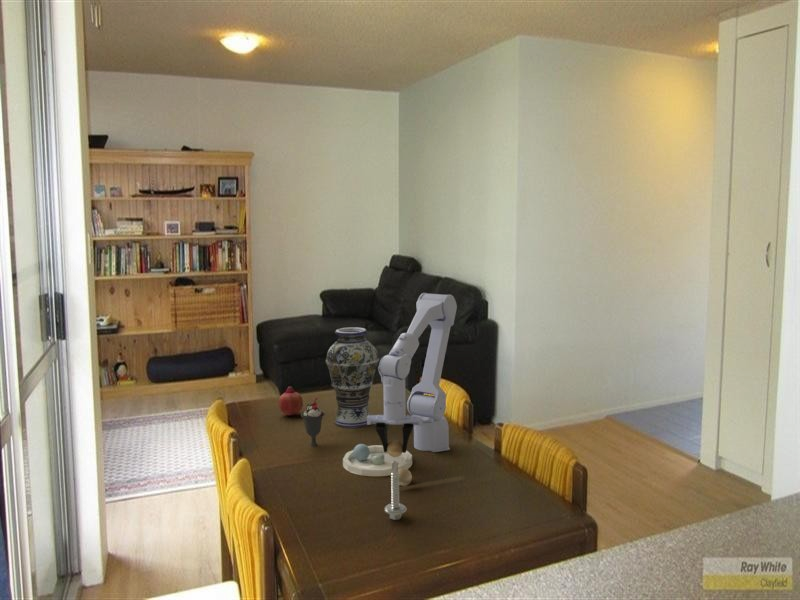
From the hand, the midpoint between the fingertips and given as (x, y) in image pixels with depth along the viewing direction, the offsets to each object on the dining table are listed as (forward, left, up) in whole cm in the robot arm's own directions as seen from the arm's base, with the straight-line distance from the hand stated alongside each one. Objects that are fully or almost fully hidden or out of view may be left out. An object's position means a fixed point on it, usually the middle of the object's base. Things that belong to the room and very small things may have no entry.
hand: (395, 451), depth 175 cm
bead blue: (+7, -6, -3) cm, 10 cm away
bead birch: (+3, +13, -4) cm, 14 cm away
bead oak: (0, 0, -1) cm, 1 cm away
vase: (-2, -40, -4) cm, 41 cm away
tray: (+4, -2, -4) cm, 6 cm away
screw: (+11, +28, -4) cm, 30 cm away
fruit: (+15, -55, -4) cm, 58 cm away
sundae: (+16, -22, -4) cm, 28 cm away
